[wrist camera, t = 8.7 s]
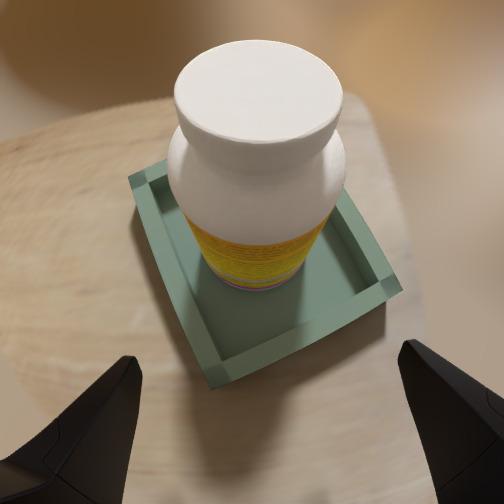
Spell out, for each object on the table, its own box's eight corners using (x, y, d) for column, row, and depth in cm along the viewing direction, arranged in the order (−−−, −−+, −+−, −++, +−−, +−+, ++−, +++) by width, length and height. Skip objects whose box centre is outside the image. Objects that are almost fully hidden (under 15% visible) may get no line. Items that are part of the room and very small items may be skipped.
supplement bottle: (321, 274, 19) (423, 156, 7) (219, 306, 18) (153, 223, 6) (286, 184, 21) (316, 19, 8) (192, 210, 20) (133, 51, 8)
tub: (386, 296, 19) (402, 290, 17) (216, 384, 17) (211, 390, 15) (287, 133, 23) (291, 113, 20) (139, 193, 21) (127, 176, 19)
